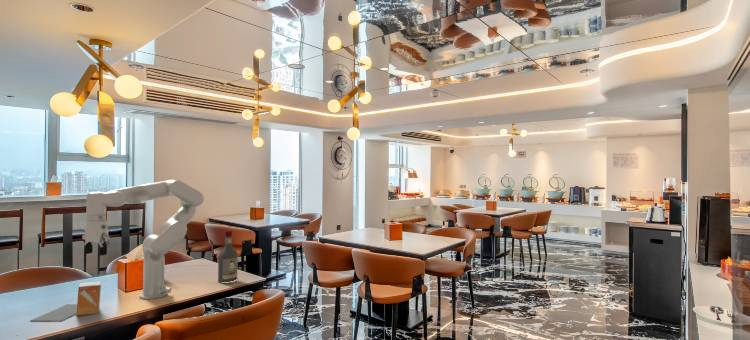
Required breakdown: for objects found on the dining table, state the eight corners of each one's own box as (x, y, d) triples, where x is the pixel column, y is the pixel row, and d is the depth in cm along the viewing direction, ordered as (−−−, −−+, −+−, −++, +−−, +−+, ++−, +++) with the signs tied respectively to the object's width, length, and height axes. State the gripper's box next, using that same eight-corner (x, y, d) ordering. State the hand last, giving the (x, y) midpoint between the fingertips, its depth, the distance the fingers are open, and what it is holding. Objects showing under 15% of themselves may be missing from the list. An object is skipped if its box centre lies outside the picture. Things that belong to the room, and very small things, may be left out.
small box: (76, 316, 167) (78, 286, 167) (77, 311, 172) (79, 282, 172) (98, 313, 171) (100, 284, 172) (99, 308, 177) (101, 280, 177)
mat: (94, 305, 182) (94, 304, 182) (61, 321, 162) (61, 320, 162) (67, 305, 181) (67, 304, 181) (30, 321, 161) (30, 320, 161)
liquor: (216, 281, 223) (217, 230, 224) (231, 278, 230) (232, 229, 231) (224, 284, 217) (225, 232, 218) (238, 281, 224) (239, 230, 225)
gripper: (117, 218, 179) (116, 254, 179) (91, 216, 185) (91, 251, 185) (101, 219, 172) (100, 257, 172) (75, 218, 178) (74, 254, 178)
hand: (95, 254), depth 179 cm, fingers open, 9 cm apart
